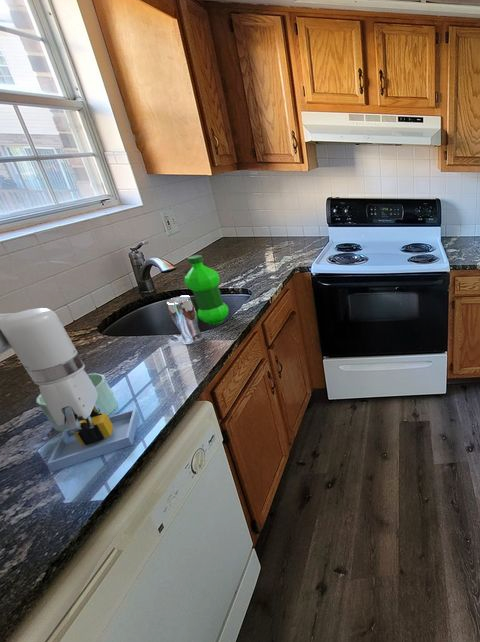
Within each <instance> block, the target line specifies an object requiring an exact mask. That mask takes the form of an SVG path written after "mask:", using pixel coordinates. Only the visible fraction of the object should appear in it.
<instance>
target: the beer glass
mask: <svg viewBox="0 0 480 642" xmlns="http://www.w3.org/2000/svg"><path fill="white" fill-rule="evenodd" d="M165 303H166V306H167V310H168V314H169V315H170V318H171V320H172V321H173V323H174V325H175V326H176V327H177V329H178V331H179V332H180V335H181V340H182V343H183V345H193V344H197V343H200V342H201V341H203V340H204V338H205V336H204V334H203V332H202V331H201V329H200V325H199V317H198V311H197V310H196V307H195V304H194V302H193V300H192V297H191V296H190V295H180V296H176V297H172V298H169V299H168V300H166V302H165Z"/></svg>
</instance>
